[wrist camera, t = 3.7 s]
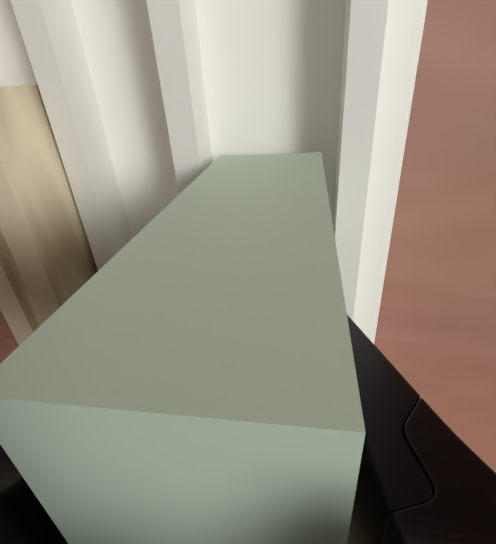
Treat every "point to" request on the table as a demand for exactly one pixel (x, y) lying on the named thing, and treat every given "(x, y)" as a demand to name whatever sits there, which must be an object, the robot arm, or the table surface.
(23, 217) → the offcut bundle
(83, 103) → the slot rack
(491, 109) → the table surface
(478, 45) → the table surface
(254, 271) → the sage green block
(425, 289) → the table surface
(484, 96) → the table surface
